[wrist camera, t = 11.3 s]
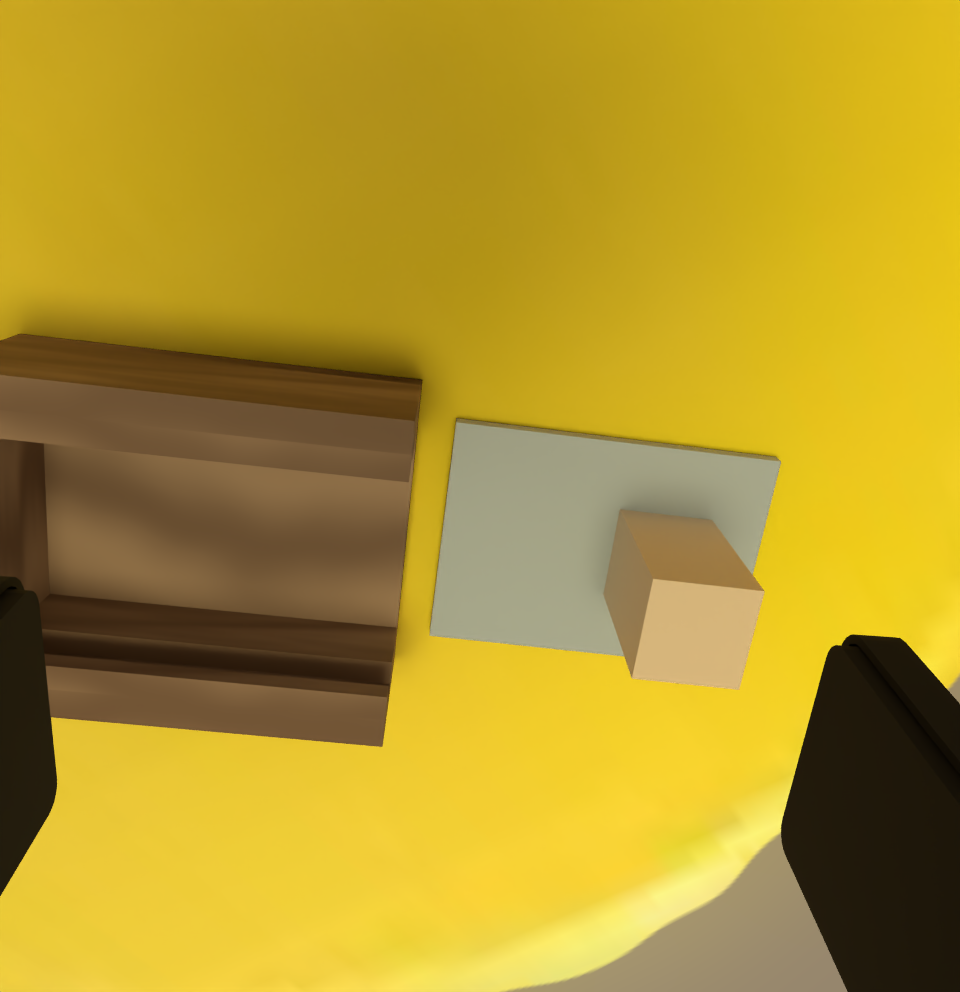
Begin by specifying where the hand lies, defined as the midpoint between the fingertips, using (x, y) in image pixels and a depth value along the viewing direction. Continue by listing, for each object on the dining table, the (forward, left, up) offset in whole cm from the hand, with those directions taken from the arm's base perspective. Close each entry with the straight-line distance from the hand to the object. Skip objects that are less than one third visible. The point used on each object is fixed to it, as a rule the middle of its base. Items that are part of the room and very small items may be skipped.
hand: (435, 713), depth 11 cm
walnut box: (+8, -9, -27) cm, 30 cm away
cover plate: (+8, +7, -27) cm, 30 cm away
